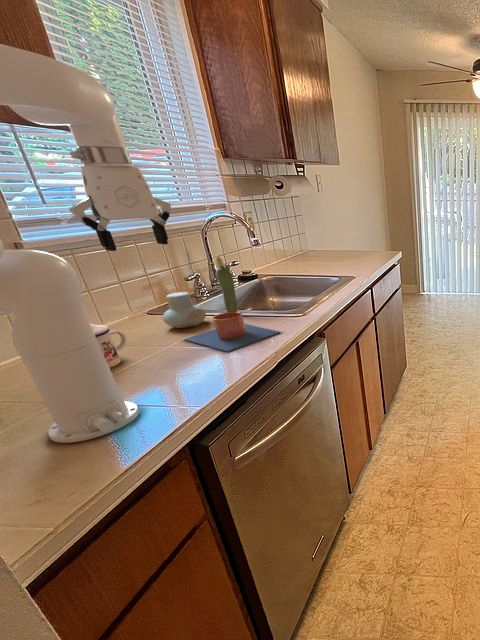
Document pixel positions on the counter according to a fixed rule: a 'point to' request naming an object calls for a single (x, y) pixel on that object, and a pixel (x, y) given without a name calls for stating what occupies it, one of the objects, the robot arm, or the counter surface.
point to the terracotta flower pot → (229, 325)
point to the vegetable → (226, 286)
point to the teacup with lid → (108, 343)
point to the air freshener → (182, 311)
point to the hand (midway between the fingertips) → (138, 247)
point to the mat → (229, 345)
